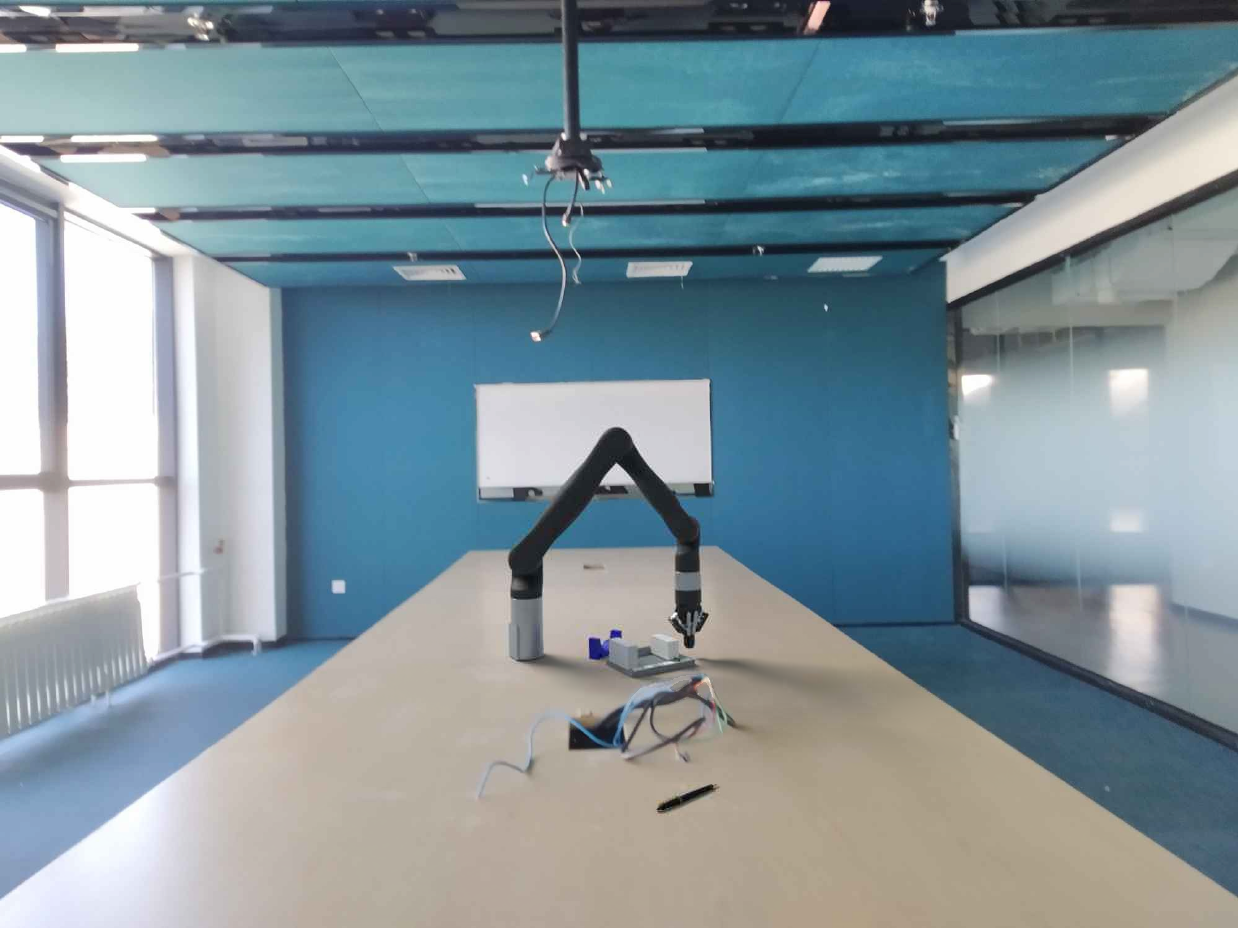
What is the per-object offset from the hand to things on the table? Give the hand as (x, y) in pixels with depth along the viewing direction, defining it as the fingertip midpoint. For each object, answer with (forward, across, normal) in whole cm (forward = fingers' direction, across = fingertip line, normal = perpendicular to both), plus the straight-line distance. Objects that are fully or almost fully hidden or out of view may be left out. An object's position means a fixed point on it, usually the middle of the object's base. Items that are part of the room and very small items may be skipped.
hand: (689, 647), depth 201 cm
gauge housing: (+3, +13, 0) cm, 13 cm away
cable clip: (+3, +18, -17) cm, 25 cm away
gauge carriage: (+1, +8, +1) cm, 8 cm away
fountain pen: (+3, +48, +68) cm, 83 cm away
